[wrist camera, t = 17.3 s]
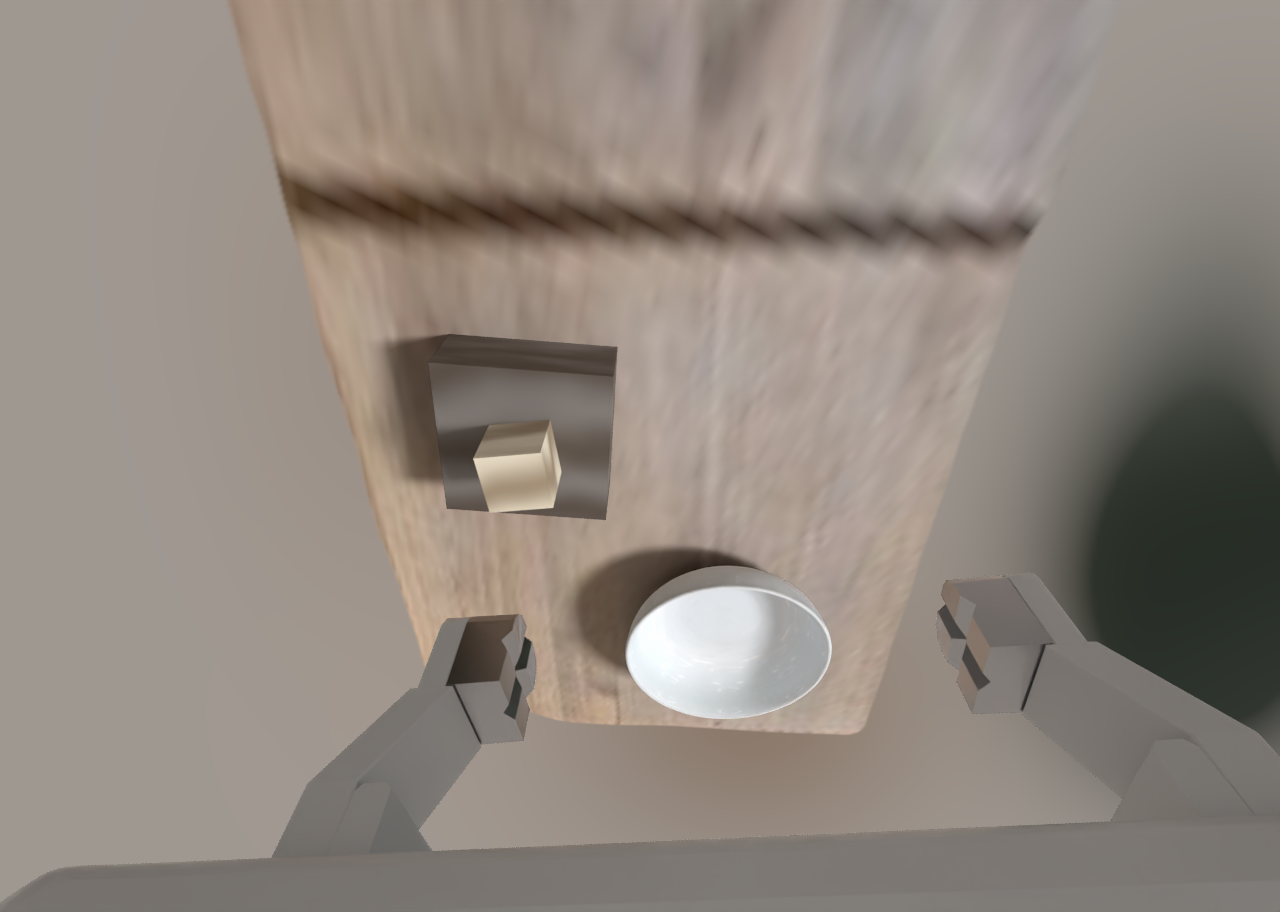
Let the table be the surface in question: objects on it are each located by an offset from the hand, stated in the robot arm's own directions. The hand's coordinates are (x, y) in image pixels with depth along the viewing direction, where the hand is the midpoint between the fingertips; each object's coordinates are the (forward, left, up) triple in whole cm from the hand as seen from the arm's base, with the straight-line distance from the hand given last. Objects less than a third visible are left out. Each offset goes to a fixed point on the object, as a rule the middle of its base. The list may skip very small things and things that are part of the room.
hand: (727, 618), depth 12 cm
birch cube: (+16, -14, -34) cm, 40 cm away
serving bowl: (+43, +1, -39) cm, 58 cm away
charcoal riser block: (+16, -14, -40) cm, 45 cm away
